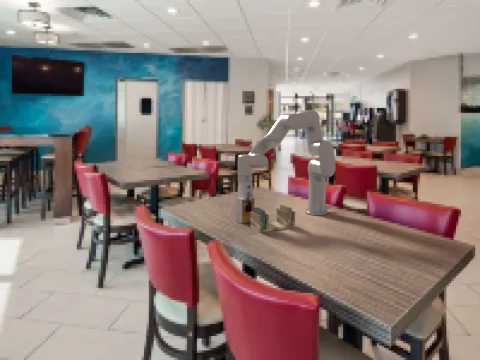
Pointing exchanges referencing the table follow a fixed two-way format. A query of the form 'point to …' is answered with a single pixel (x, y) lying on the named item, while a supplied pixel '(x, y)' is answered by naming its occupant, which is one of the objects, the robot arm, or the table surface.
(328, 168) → the robot arm
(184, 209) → the table surface
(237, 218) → the small box
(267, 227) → the book rack
